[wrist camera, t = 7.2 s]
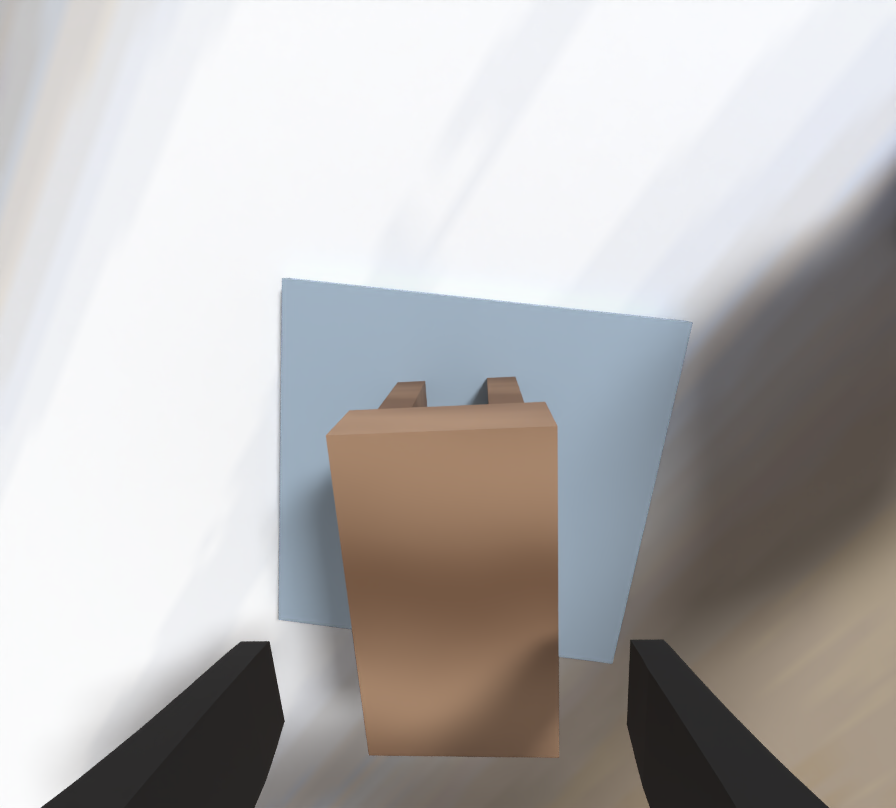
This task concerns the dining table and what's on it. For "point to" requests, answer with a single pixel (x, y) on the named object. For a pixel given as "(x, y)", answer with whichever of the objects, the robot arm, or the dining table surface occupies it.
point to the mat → (465, 383)
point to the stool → (452, 571)
